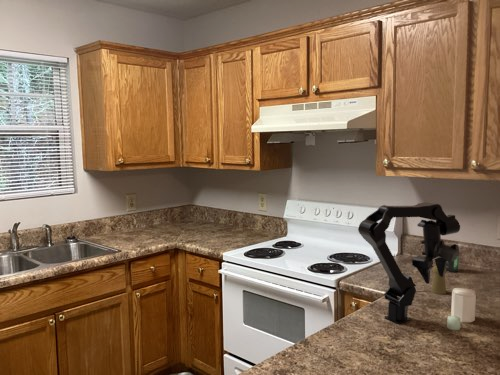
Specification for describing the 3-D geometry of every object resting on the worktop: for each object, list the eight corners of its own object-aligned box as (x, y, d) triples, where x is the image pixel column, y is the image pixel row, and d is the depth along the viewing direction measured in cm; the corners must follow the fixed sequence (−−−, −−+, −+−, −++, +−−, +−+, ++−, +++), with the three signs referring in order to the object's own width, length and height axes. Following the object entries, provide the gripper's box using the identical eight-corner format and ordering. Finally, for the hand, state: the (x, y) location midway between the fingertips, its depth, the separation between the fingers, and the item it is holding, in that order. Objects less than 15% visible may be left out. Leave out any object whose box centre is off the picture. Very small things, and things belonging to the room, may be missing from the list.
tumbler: (476, 322, 154) (478, 294, 153) (455, 321, 155) (456, 293, 154) (469, 315, 161) (470, 288, 160) (449, 314, 161) (450, 287, 160)
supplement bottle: (459, 273, 212) (460, 248, 211) (443, 271, 215) (444, 247, 213) (457, 269, 219) (458, 245, 218) (442, 268, 221) (443, 244, 220)
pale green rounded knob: (455, 331, 147) (456, 321, 147) (444, 327, 150) (445, 317, 150) (462, 328, 149) (463, 318, 149) (451, 324, 152) (452, 314, 152)
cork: (433, 288, 190) (434, 263, 189) (448, 291, 186) (449, 265, 185) (428, 292, 185) (429, 266, 184) (443, 295, 181) (444, 269, 180)
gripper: (439, 246, 147) (442, 292, 148) (467, 234, 158) (469, 277, 159) (409, 242, 156) (412, 285, 157) (437, 231, 167) (440, 271, 168)
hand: (434, 279), depth 160 cm, fingers open, 9 cm apart
